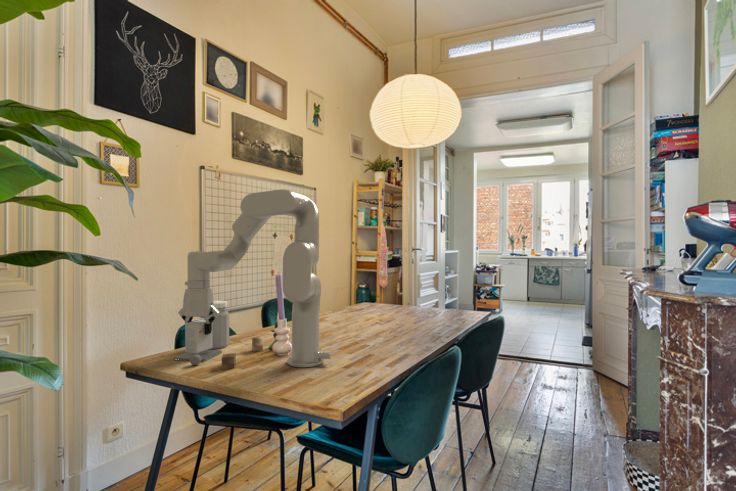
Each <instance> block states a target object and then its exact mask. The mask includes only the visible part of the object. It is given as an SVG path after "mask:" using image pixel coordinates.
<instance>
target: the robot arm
mask: <svg viewBox="0 0 736 491" xmlns="http://www.w3.org/2000/svg"><path fill="white" fill-rule="evenodd" d="M240 210H241V213H240V215H239V216H238V217H237V218H236V219H235V221H234V222H233V223H232V224H231V229H232V231H233V237H232V239H231V241H230V242H229V244H228V245H227V246H226V247H225V248H224V249H223V250H212V251H202V250H201V251H200V250H198V251H197V250H196V251H195V250H194V251H189V252H188V254H187V281H185V282H184V285H185V286H186V287H187V288H186V289H185V288H184V289H185V290H184V293H183V300H182V308H181V309H180V310H179V311H178V312H177V313H178V315H179V316H180V317H181V319H182V320H183V321H184V324H185V323H189V322H193V319H194V318H203V319H204V318H205V321H206V324H205V335H208V334H210V333H211V331H212V322H213V321H214V320H215V319H216V317H217V316H218V315H219V314H220V313H219V311H218V310H217V309H216V308H215V307H214V301H215V300H214V295H213V290H212V288H211V285H210V284H211V282H210V280H211V273H219V272H225V271H230V270H232V269H234V268H235V267H236V266H237V265H238V263H240V261H241V260H242V258H244V256H245V255H246V254H247V252H248V251H249V248H250V245H251V243H252V240H253V239H254V237H255V236H256V235H257V234H258V232H259V231H260V230H261V229H262V228H263V227H264V225H265V224H266V223H267V222H268V221H269V219H270V218H271V217H274V216H275V217H276V216H288V217H290V216H291V217H294V218H295V225H294V237H293V238H294V241H293V242H291V243H290V244H289V245H287V247H286V248H285V250H284V251H283V252H284V253H283V257H282V292H283V295H284V297H285V298H286V300H288V301H289V302H291V303H292V308H291V356H290V357H288V358H287V360H286V362H287V364H288V365H289V366H290V367H295V368H313V367H316V366H317V367H318V366H320V365H322V364H323V363H324V360H331V359H332V354H331V353H330V352H328V351H322V350H323V348H322V347H320V306H321V295H322V284H321V281H320V278H319V277H318V276H317V275H316V274H315V273H313V272H312V268H313V267H314V266H316V265H317V264H318V262H319V260H320V213H319V209H318V207H317V205H316V204H315V202H314V201H313V200H311V198H309V197H307V196H305V195H303V194H301V193H299V192H298V191H297V192H296V191H293V190H289V189H284V188H283V189H273V190H267V191H258V192H251V193H248V194H246V195H245V196H244V197H243V198H242V199H241V201H240ZM213 313H214V315H213V316H211V315H212V314H213Z"/></svg>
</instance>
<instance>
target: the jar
mask: <svg viewBox="0 0 736 491" xmlns="http://www.w3.org/2000/svg"><path fill="white" fill-rule="evenodd" d="M213 301H214V307H215V308H216V309H217V310H218V311H219V313H220V314H219V315H218V316H217V317H216V319H215V320H214V321H213V322H212V340H213V348H211V349H210V350H219V349H223V348H224V349H225V348H227V347H228V346H229V344H230V313H229V311H228V304H229V302H228V300H221V299H220V300H218V299H217V300H213ZM213 315H214V313H213V314H212V315H211V316H213ZM203 320H205V318H204V317H203Z"/></svg>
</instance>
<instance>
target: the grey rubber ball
mask: <svg viewBox="0 0 736 491" xmlns="http://www.w3.org/2000/svg"><path fill="white" fill-rule="evenodd" d="M189 362H190V364H191V365H193V366H198V365H200V364H201V356H200V355H197V354H195V355H193V356H192V357H191V358H190V361H189Z"/></svg>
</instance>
